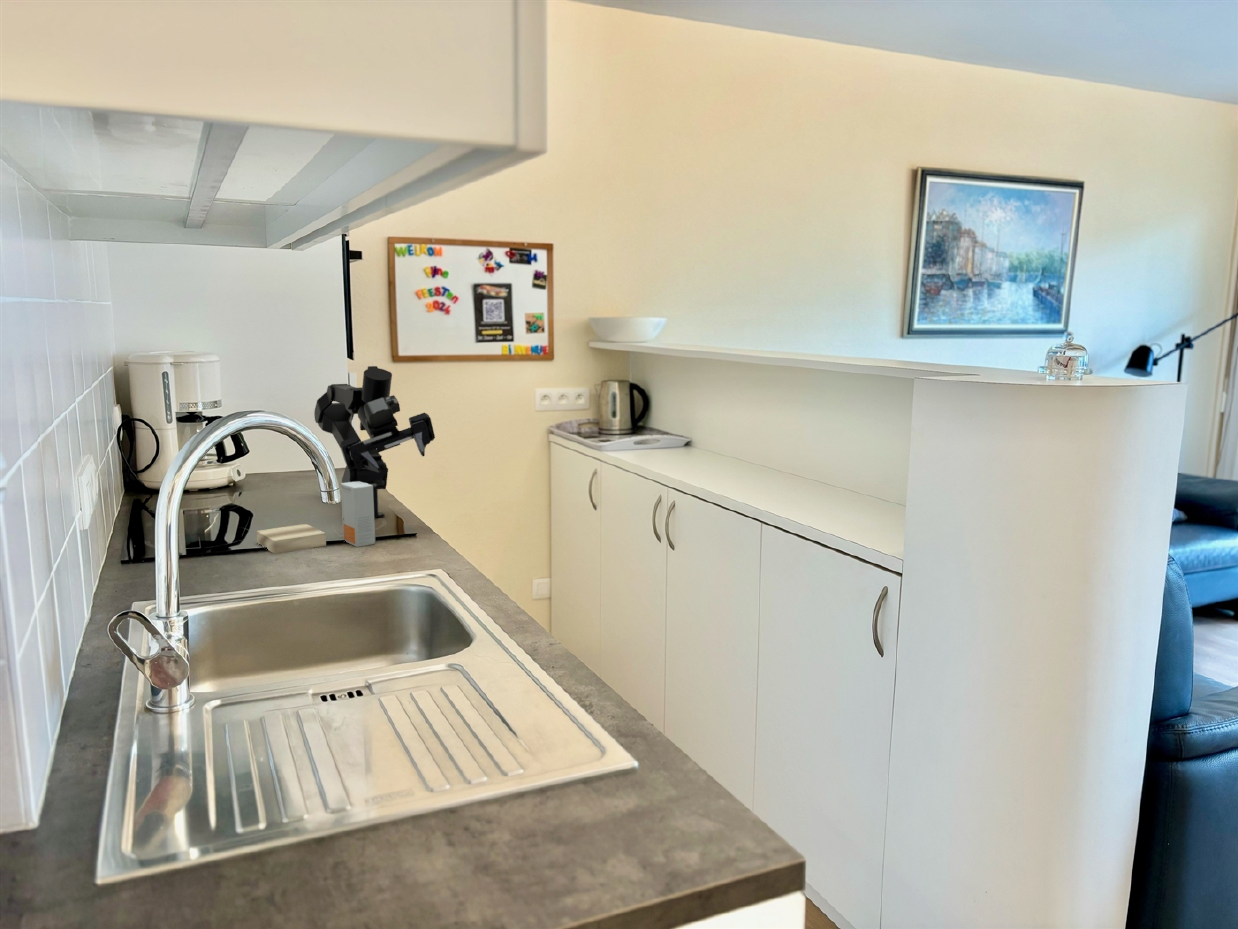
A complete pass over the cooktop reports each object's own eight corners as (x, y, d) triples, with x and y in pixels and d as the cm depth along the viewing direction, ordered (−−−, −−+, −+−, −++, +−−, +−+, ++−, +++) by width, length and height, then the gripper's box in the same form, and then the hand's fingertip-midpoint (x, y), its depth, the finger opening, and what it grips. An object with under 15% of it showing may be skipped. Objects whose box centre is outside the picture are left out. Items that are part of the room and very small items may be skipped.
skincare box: (342, 541, 181) (339, 483, 179) (362, 538, 183) (359, 480, 181) (356, 547, 176) (353, 487, 174) (376, 544, 179) (374, 484, 177)
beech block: (257, 545, 179) (256, 530, 178) (306, 537, 185) (306, 523, 185) (275, 556, 171) (274, 540, 171) (326, 548, 178) (325, 533, 177)
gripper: (323, 406, 181) (345, 446, 171) (411, 377, 188) (438, 414, 177) (337, 449, 188) (359, 490, 178) (422, 419, 195) (448, 458, 184)
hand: (401, 462), depth 179 cm, fingers open, 9 cm apart
